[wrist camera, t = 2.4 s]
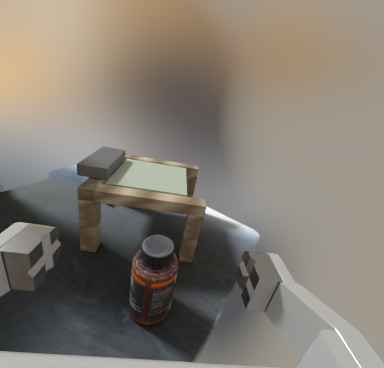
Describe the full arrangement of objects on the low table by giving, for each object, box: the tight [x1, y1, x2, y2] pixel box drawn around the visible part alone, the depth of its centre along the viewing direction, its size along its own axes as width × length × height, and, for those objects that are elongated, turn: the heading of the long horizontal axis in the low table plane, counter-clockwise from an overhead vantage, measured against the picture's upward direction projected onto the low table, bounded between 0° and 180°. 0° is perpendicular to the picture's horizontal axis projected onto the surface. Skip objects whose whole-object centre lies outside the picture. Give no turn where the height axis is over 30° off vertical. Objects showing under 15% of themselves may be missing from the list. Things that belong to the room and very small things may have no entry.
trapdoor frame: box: [78, 154, 206, 263], centre depth 43 cm, size 20×20×12 cm
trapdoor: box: [77, 147, 187, 197], centre depth 40 cm, size 19×14×3 cm
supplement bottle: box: [129, 235, 178, 325], centre depth 27 cm, size 6×6×11 cm
